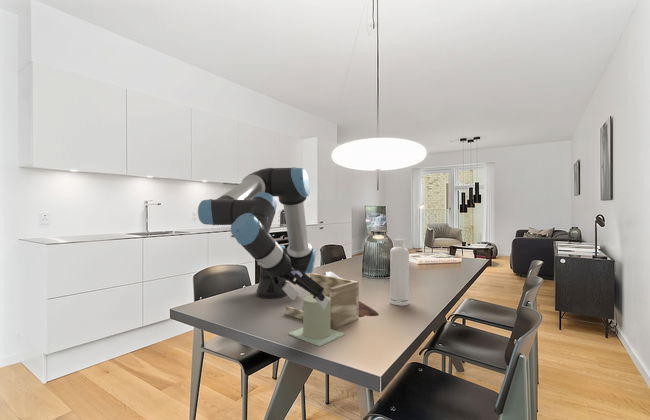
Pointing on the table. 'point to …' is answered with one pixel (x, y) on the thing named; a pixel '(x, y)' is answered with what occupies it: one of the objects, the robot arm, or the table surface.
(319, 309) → the can
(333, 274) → the spoon rest
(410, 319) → the table surface
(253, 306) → the table surface
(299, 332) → the mat
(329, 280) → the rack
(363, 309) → the wooden tablet
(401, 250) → the bottle
